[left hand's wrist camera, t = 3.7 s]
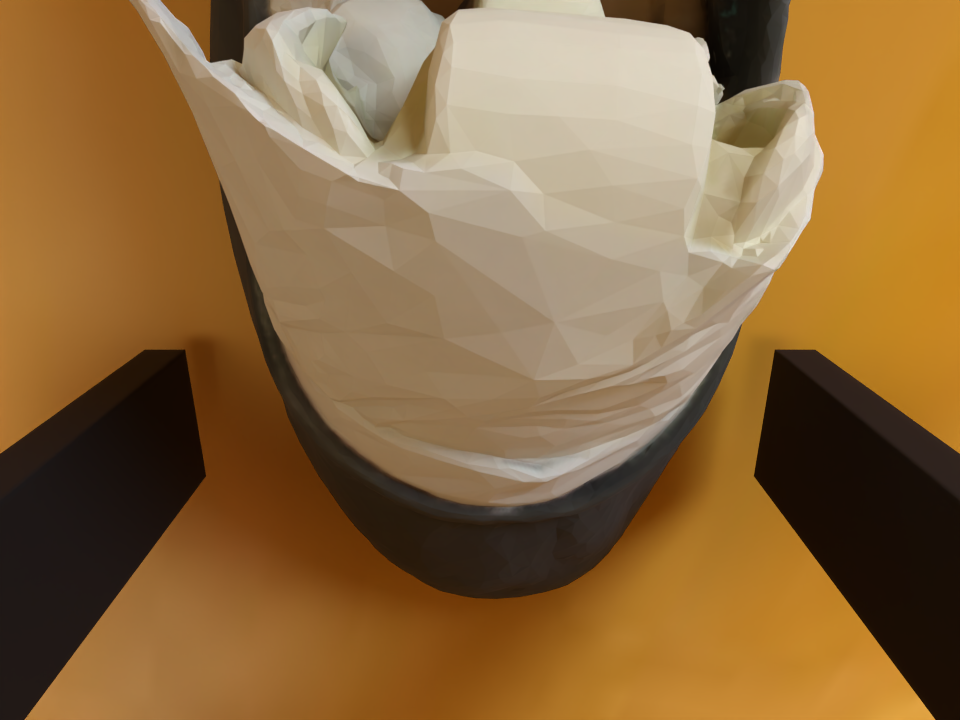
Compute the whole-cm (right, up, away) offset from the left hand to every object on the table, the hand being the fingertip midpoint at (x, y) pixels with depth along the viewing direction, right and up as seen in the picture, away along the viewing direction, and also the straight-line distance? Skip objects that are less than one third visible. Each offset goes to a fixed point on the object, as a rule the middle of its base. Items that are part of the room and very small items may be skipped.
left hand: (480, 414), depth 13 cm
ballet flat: (0, +8, -2) cm, 8 cm away
